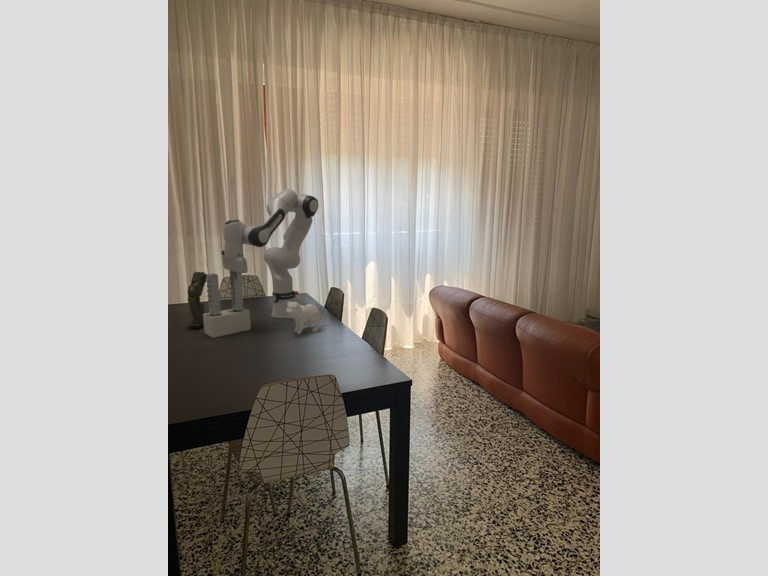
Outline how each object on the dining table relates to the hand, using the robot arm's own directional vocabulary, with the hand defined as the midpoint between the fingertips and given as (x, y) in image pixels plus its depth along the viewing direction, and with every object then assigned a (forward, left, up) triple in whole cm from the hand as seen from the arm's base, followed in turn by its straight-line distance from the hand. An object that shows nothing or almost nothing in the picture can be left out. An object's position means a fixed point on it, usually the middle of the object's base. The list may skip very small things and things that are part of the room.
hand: (236, 279), depth 224 cm
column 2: (0, 0, -18) cm, 18 cm away
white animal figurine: (-24, +26, -26) cm, 44 cm away
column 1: (+12, 0, -18) cm, 22 cm away
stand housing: (+6, 0, -26) cm, 27 cm away
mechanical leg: (+13, -18, -26) cm, 34 cm away
